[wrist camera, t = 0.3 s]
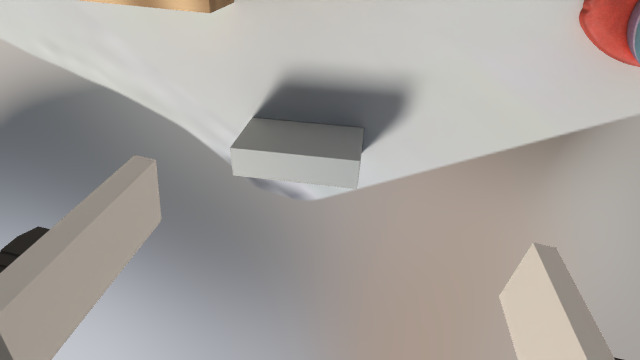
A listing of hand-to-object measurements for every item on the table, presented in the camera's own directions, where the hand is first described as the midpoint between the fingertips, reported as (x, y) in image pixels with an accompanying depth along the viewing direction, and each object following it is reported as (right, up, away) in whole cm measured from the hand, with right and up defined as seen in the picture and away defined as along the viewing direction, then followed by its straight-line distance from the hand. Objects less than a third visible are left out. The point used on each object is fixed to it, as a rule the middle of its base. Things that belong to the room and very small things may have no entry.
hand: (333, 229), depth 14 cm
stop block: (-2, +7, +28) cm, 29 cm away
